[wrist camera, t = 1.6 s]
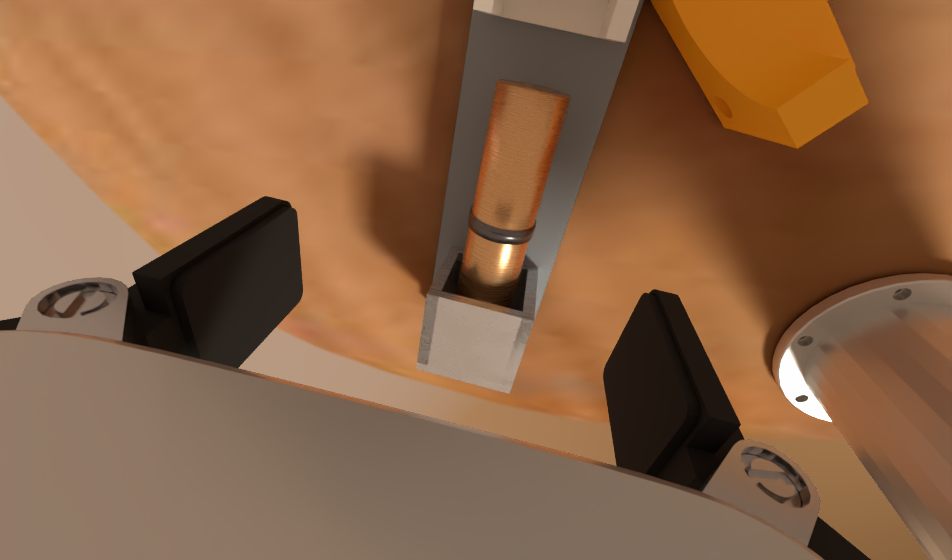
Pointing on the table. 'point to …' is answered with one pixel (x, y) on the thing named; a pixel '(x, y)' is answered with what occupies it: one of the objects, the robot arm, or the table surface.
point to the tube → (510, 187)
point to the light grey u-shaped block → (569, 15)
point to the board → (590, 86)
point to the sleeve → (475, 329)
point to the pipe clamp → (767, 64)
